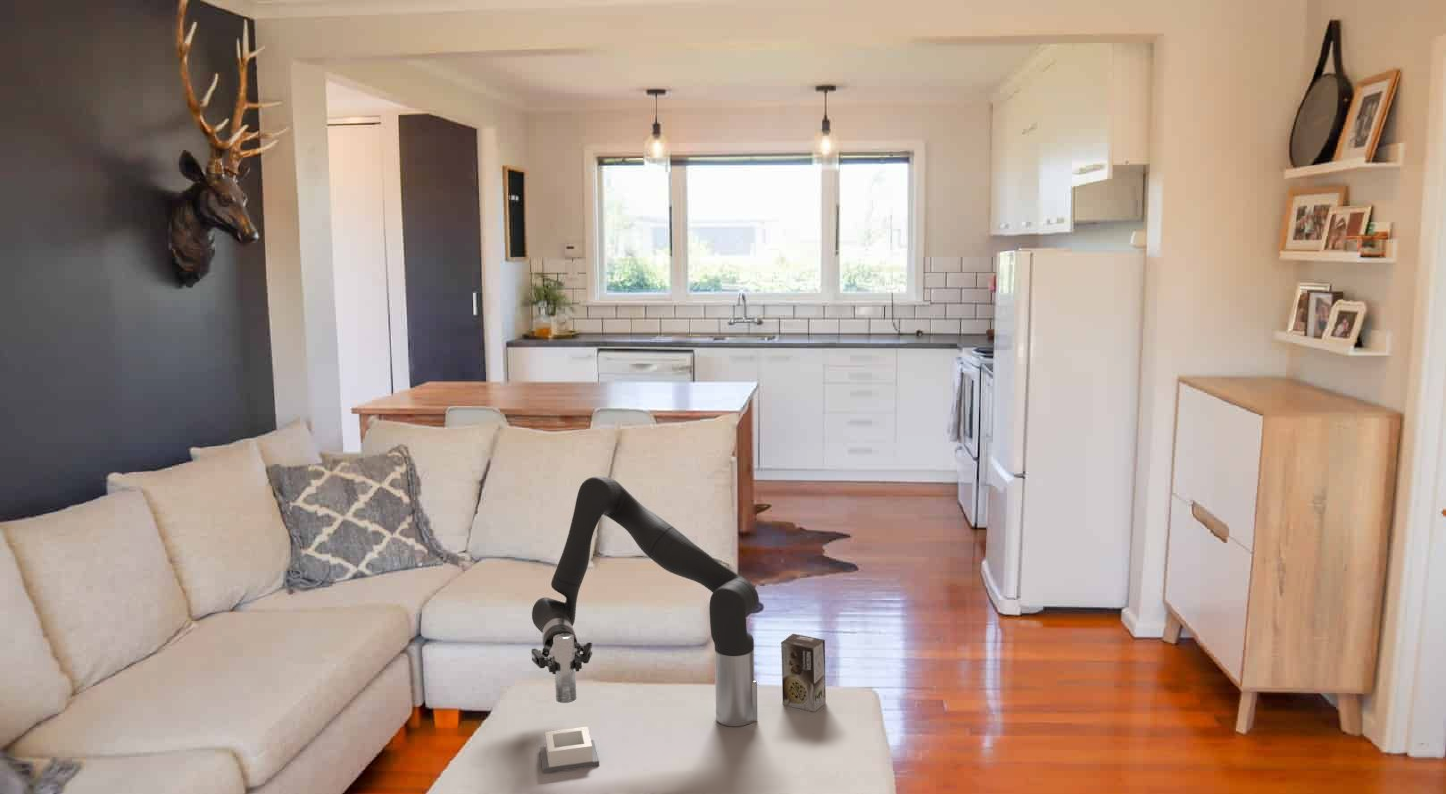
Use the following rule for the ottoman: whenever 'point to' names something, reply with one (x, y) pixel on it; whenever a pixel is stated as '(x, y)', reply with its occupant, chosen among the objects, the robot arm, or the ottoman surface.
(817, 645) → the cookie box
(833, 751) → the ottoman surface
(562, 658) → the silver metal cylinder
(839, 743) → the ottoman surface
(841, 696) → the ottoman surface
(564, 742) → the dock
